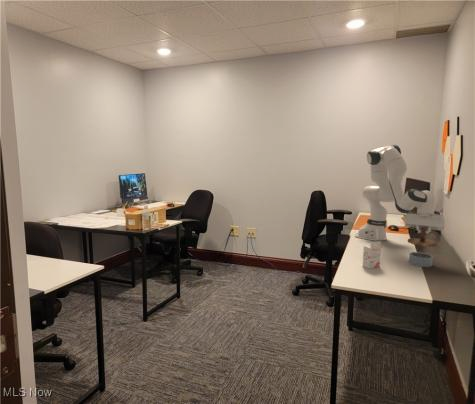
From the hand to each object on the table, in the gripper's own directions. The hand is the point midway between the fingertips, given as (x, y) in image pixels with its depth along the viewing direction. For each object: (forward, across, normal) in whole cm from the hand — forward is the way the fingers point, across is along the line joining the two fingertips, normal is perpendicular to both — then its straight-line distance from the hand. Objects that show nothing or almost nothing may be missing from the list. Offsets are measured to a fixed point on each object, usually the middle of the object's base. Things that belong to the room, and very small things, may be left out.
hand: (423, 233), depth 195 cm
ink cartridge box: (+28, -24, -2) cm, 37 cm away
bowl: (+12, 0, +13) cm, 18 cm away
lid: (+4, 0, +4) cm, 6 cm away
